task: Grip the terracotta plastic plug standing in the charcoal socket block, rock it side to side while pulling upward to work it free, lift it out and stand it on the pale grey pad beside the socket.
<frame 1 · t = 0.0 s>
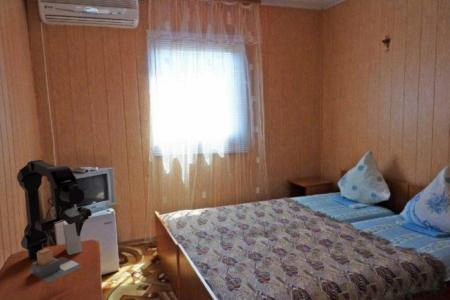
hand: (67, 240, 117), 15 cm above the table, tool pointing down, fingers open, 9 cm apart
plug: (46, 271, 121), point 1 cm above the table, touching socket block
skincare box: (74, 252, 139), on the table
socket block: (56, 270, 123), on the table
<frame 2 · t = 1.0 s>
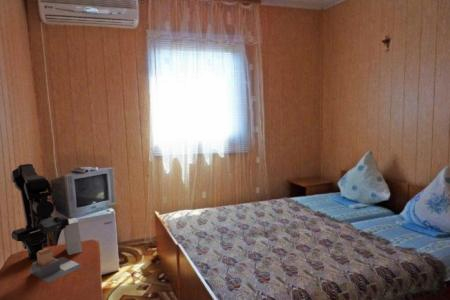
hand: (44, 248, 120), 10 cm above the table, tool pointing down, fingers open, 9 cm apart
nothing on the table moved.
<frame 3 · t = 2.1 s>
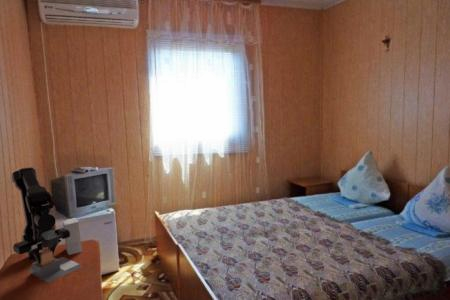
hand: (45, 260, 121), 5 cm above the table, tool pointing down, fingers closed on plug, 4 cm apart
plug: (46, 271, 121), point 1 cm above the table, touching gripper, socket block
everything else where it was.
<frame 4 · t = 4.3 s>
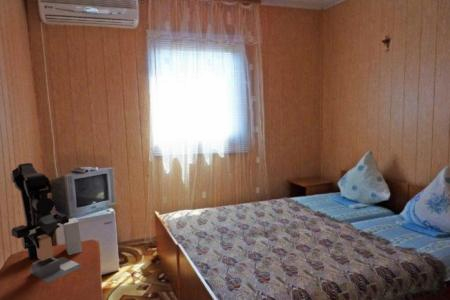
hand: (44, 246, 120), 11 cm above the table, tool pointing down, fingers closed on plug, 4 cm apart
plug: (45, 257, 120), point 7 cm above the table, touching gripper
everything else where it was.
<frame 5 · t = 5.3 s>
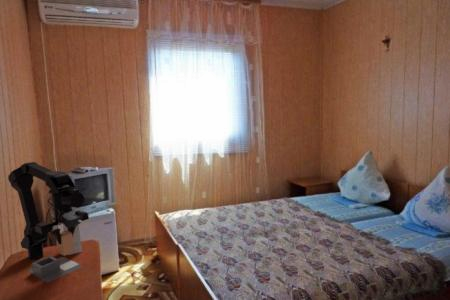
hand: (65, 242, 124), 11 cm above the table, tool pointing down, fingers closed on plug, 4 cm apart
plug: (66, 252, 124), point 7 cm above the table, touching gripper
everything else where it was.
when the fingers open (6 cm above the table, at t = 6.3 s): plug stays where it is, resting on socket block.
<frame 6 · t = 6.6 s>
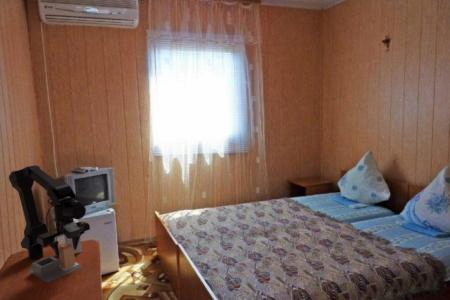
hand: (66, 252, 124), 6 cm above the table, tool pointing down, fingers open, 7 cm apart
plug: (67, 265, 125), point 1 cm above the table, touching socket block
everything else where it was.
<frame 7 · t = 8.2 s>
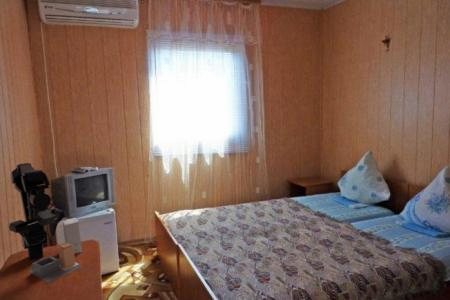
hand: (41, 240, 122), 13 cm above the table, tool pointing down, fingers open, 9 cm apart
nothing on the table moved.
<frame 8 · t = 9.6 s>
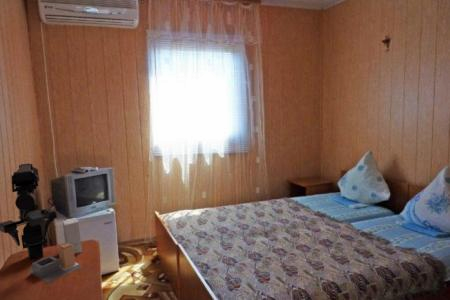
hand: (31, 241, 121), 13 cm above the table, tool pointing down, fingers open, 9 cm apart
nothing on the table moved.
at the end: plug 0.1 cm from the target spot, point 1.1 cm above the table; plug tilted 0°; the gripper is holding nothing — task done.
